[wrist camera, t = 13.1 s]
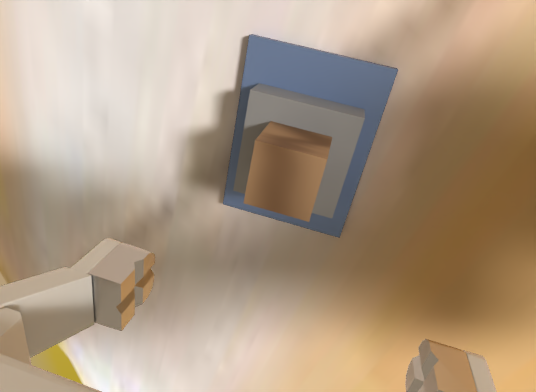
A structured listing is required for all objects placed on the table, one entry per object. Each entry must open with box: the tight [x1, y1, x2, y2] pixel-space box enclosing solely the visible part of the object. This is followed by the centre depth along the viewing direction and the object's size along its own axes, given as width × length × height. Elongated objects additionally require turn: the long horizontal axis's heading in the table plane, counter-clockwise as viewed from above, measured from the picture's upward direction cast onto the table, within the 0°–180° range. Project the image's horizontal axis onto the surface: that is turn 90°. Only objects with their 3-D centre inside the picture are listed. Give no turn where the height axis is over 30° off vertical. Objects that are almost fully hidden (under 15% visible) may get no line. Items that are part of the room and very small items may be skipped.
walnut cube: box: [244, 121, 332, 222], centre depth 28 cm, size 5×5×5 cm
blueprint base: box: [223, 34, 398, 237], centre depth 32 cm, size 12×16×4 cm
